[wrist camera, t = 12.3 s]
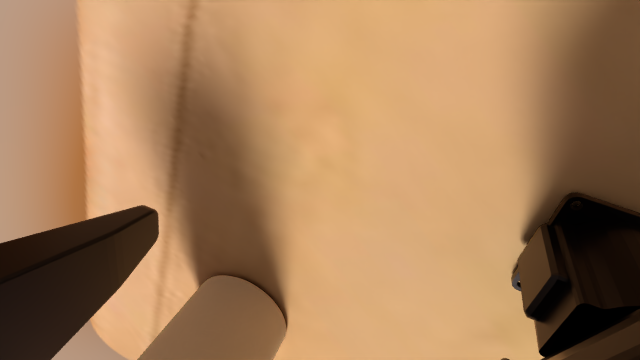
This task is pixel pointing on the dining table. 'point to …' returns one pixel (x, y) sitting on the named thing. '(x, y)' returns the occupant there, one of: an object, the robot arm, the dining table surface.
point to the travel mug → (222, 325)
